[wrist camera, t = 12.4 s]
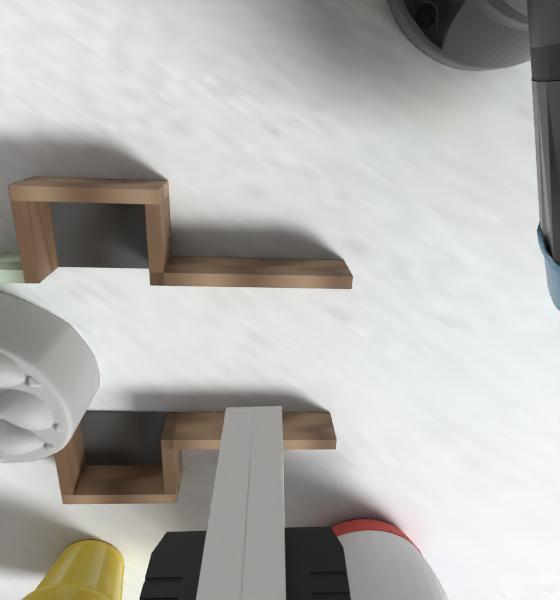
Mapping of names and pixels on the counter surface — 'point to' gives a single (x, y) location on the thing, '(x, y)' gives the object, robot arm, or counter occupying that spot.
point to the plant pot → (83, 574)
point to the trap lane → (163, 272)
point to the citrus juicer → (385, 563)
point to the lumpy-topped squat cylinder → (40, 381)
